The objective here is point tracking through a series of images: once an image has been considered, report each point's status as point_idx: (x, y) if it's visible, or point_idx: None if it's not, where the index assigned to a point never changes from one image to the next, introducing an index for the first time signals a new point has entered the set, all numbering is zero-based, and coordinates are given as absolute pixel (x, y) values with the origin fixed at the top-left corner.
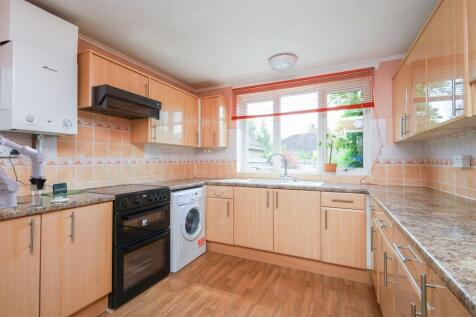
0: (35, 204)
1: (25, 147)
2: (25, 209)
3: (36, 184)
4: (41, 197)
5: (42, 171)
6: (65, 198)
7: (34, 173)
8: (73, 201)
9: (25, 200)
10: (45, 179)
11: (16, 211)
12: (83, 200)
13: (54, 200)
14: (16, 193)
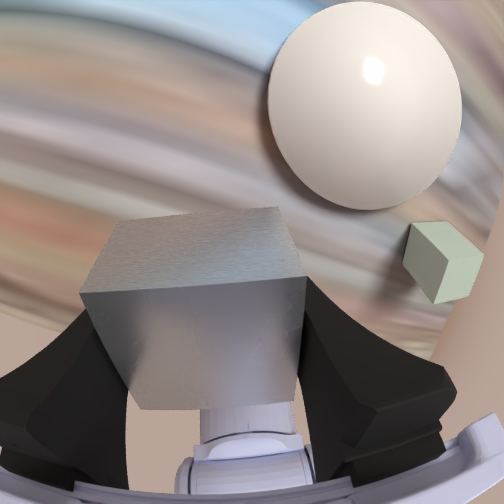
0: (328, 258)
1: None
2: (422, 330)
3: (193, 376)
4: (454, 298)
5: None
6: (371, 14)
7: None
8: (478, 59)
9: (11, 227)
10: (446, 399)
11: (420, 355)
12: (495, 11)
13: (392, 138)
14: (279, 418)
